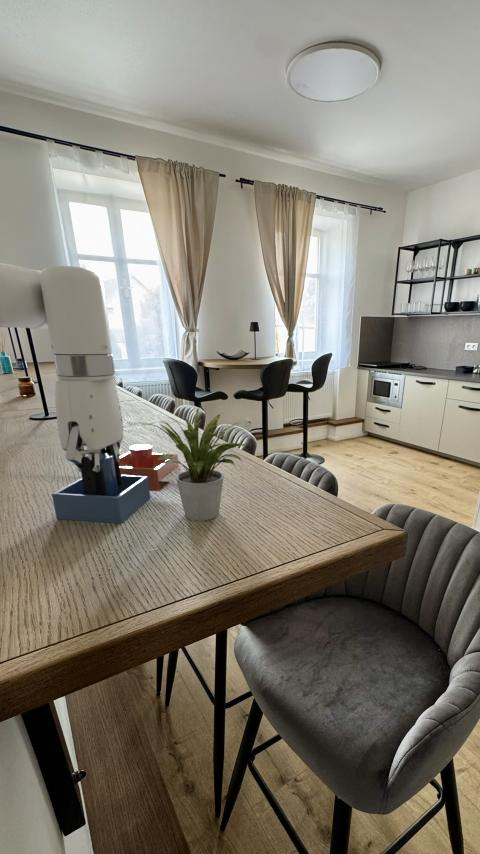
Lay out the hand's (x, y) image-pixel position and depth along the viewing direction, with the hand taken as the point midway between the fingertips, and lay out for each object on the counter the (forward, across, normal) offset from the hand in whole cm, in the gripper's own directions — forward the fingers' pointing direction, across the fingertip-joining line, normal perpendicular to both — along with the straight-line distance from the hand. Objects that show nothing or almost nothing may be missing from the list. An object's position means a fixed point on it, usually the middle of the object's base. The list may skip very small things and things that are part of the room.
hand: (104, 489), depth 64 cm
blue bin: (+3, 0, 0) cm, 3 cm away
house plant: (+3, +1, +15) cm, 15 cm away
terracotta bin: (+3, -14, 0) cm, 14 cm away
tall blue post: (+1, 0, 0) cm, 1 cm away
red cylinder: (+3, -14, 0) cm, 14 cm away
